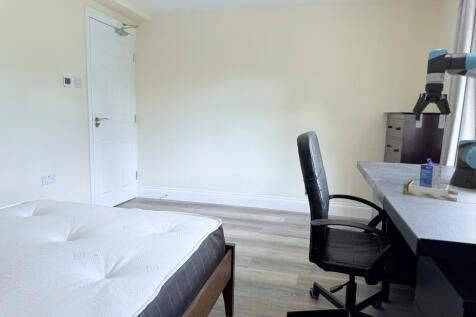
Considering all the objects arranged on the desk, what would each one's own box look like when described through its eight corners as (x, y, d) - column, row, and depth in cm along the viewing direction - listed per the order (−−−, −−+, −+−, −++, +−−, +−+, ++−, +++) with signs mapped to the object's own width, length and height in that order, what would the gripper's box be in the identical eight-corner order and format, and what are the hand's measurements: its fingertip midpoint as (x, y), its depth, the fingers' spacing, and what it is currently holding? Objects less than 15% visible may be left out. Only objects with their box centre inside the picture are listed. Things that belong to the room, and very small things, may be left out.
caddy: (448, 193, 145) (449, 184, 145) (446, 199, 134) (447, 190, 133) (412, 188, 153) (413, 180, 153) (407, 193, 142) (408, 185, 141)
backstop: (457, 194, 144) (459, 184, 143) (456, 201, 131) (458, 190, 130) (408, 188, 155) (409, 178, 155) (402, 193, 142) (403, 183, 141)
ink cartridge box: (426, 189, 148) (429, 157, 147) (440, 191, 144) (443, 159, 142) (417, 191, 142) (420, 158, 140) (431, 194, 138) (435, 160, 136)
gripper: (419, 80, 148) (414, 127, 151) (462, 84, 154) (457, 128, 157) (406, 82, 155) (402, 127, 158) (448, 85, 161) (444, 128, 164)
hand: (430, 128), depth 157 cm, fingers open, 13 cm apart
